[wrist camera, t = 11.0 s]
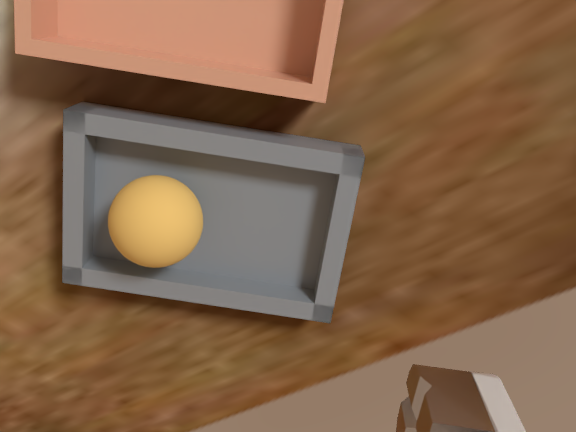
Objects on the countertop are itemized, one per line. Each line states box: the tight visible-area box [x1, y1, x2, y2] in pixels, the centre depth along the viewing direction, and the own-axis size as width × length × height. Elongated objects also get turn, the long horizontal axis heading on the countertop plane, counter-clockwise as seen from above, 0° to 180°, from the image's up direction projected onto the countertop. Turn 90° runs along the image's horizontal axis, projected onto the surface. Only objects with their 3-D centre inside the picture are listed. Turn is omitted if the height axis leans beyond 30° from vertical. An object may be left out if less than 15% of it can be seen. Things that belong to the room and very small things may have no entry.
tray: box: [62, 102, 365, 323], centre depth 28 cm, size 14×9×2 cm, turn 81°
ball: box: [108, 175, 203, 268], centre depth 26 cm, size 4×4×4 cm
